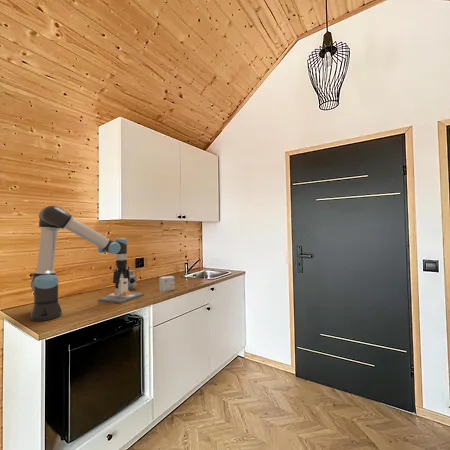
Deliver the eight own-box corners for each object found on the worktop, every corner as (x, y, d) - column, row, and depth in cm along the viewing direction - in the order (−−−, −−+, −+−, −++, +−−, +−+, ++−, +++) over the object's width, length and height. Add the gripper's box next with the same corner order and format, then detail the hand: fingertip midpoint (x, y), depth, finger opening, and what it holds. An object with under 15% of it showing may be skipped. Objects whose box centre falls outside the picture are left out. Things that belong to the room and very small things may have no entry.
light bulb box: (169, 288, 227) (169, 275, 227) (174, 289, 223) (174, 276, 223) (159, 290, 219) (158, 277, 219) (164, 292, 214) (164, 278, 214)
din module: (122, 294, 193) (122, 280, 193) (115, 293, 195) (115, 279, 195) (129, 292, 199) (129, 278, 199) (122, 291, 201) (122, 278, 202)
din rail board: (120, 303, 182) (120, 295, 182) (98, 301, 190) (98, 293, 190) (144, 295, 205) (143, 288, 205) (122, 293, 212) (122, 286, 212)
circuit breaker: (129, 291, 218) (129, 272, 218) (119, 289, 226) (119, 271, 227) (137, 289, 224) (137, 271, 224) (127, 287, 232) (127, 269, 233)
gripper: (115, 261, 187) (115, 295, 187) (135, 258, 205) (135, 288, 205) (106, 261, 190) (107, 294, 189) (127, 257, 208) (127, 288, 208)
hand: (121, 291), depth 197 cm, fingers closed on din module, 7 cm apart
